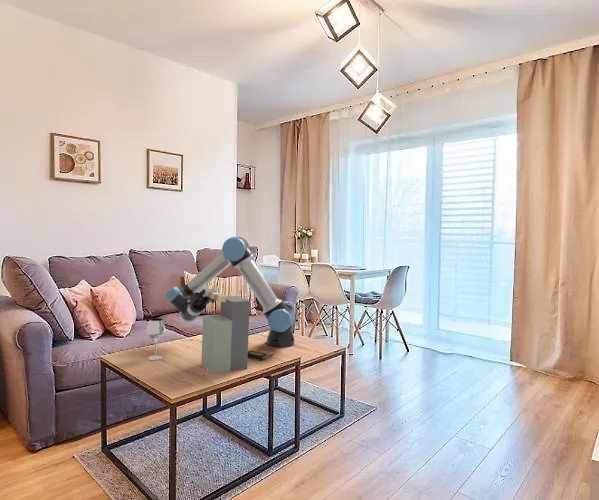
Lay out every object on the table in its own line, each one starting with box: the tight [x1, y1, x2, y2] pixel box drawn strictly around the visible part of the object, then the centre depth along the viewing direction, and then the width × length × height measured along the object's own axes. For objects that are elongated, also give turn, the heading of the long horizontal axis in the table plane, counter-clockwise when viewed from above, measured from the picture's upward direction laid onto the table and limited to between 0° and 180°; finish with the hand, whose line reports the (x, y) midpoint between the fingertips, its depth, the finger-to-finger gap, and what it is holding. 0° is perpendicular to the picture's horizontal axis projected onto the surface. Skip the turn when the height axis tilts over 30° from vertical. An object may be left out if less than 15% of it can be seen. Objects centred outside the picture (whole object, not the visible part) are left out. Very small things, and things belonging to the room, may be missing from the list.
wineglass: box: [146, 317, 166, 361], centre depth 185 cm, size 8×8×18 cm
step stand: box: [200, 295, 251, 375], centre depth 178 cm, size 14×16×30 cm
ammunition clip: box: [248, 349, 275, 361], centre depth 196 cm, size 11×2×12 cm
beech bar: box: [201, 288, 227, 303], centre depth 180 cm, size 22×3×2 cm, turn 32°
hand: (212, 288), depth 181 cm, fingers closed on beech bar, 3 cm apart
